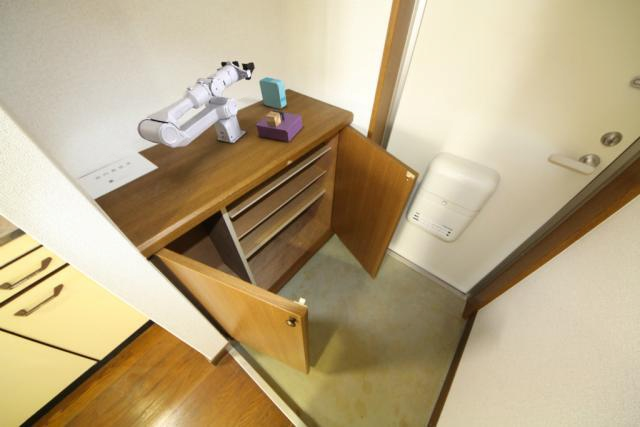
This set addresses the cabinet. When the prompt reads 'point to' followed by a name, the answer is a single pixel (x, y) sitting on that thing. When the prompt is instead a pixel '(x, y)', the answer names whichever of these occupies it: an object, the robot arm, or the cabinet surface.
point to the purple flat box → (280, 132)
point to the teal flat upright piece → (273, 92)
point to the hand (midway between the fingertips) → (245, 64)
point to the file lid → (285, 118)
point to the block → (273, 119)
